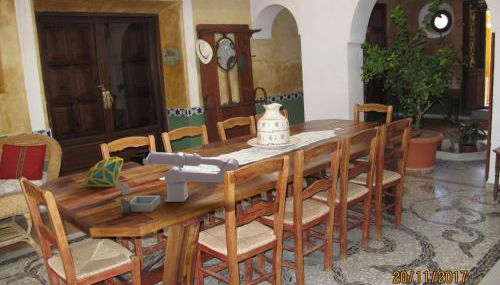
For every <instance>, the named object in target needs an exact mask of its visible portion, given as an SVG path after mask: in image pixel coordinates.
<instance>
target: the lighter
mask: <svg viewBox="0 0 500 285" xmlns="http://www.w3.org/2000/svg"><path fill="white" fill-rule="evenodd" d="M115 184H116V185H115V186H116V187H117V189H120V195H121V196H124V195H129V194H130V188H129V187H130V186H129V184H127V183H122V184H121V182H120V181H119V180H117V181H116V182H115Z"/></svg>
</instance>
